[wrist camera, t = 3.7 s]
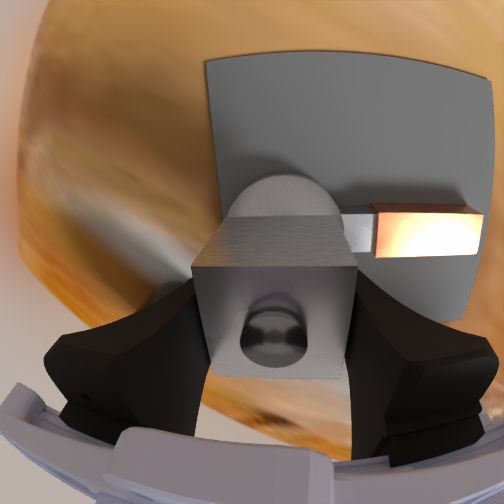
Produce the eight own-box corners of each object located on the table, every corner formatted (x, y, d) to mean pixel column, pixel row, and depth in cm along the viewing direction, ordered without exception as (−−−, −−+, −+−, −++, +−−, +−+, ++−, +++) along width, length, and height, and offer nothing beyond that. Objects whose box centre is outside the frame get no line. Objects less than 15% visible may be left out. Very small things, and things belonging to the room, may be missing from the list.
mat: (460, 317, 20) (461, 319, 19) (240, 329, 23) (239, 332, 22) (488, 81, 11) (491, 81, 11) (207, 62, 14) (205, 61, 14)
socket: (329, 307, 13) (340, 391, 9) (235, 306, 14) (210, 386, 9) (335, 215, 11) (362, 277, 7) (225, 216, 12) (183, 276, 7)
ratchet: (456, 266, 17) (482, 295, 14) (237, 273, 20) (225, 309, 16) (470, 176, 14) (505, 191, 11) (225, 174, 17) (206, 189, 13)
